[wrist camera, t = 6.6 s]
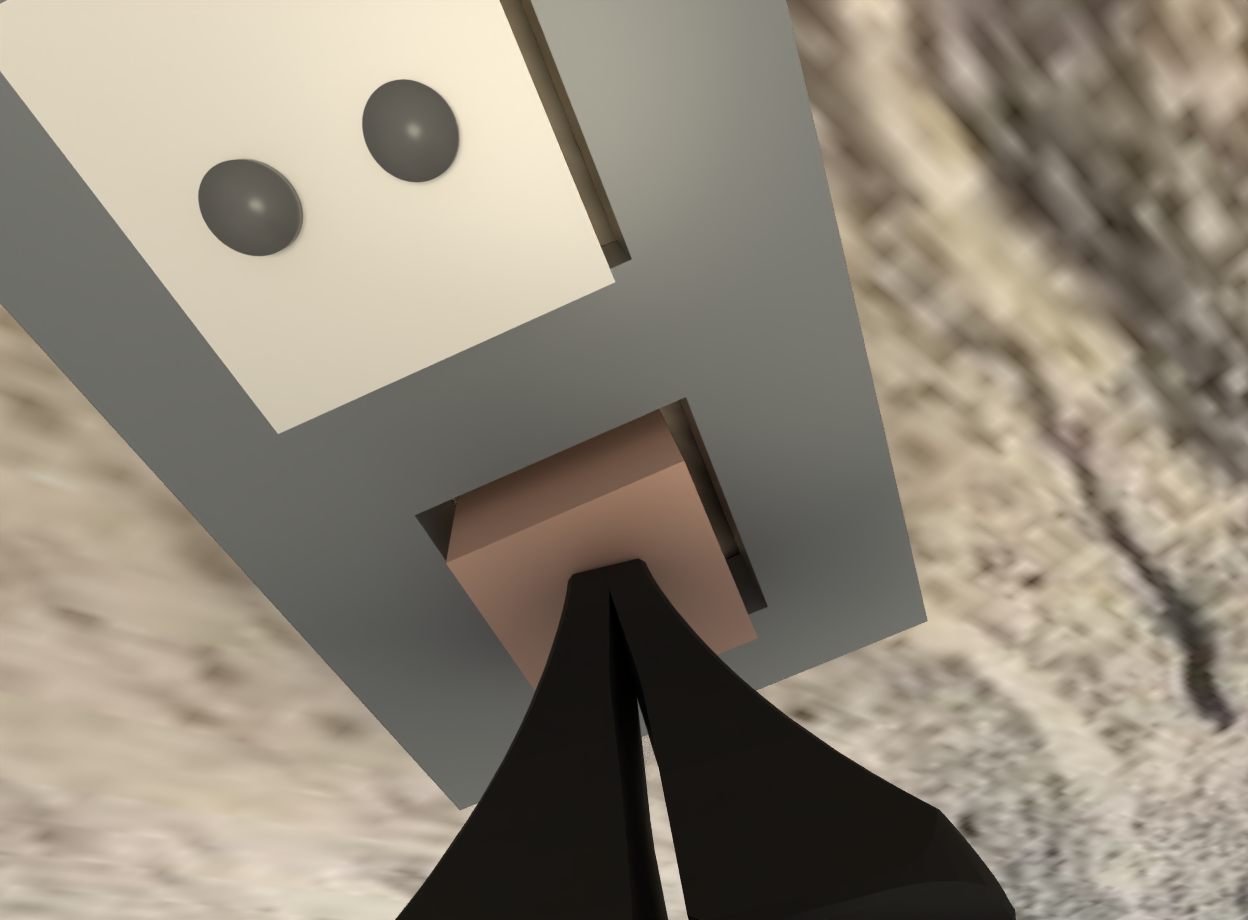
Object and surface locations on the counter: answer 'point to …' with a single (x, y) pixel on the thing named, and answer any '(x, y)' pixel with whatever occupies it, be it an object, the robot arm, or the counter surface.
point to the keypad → (528, 382)
